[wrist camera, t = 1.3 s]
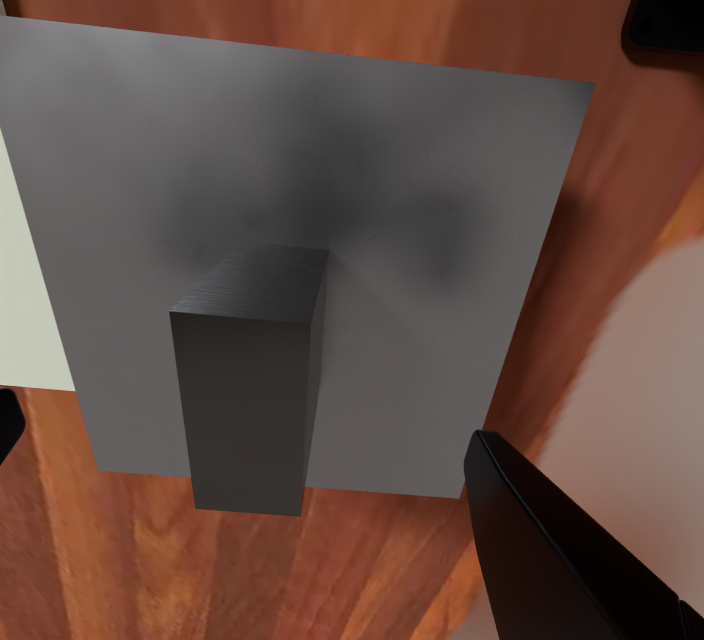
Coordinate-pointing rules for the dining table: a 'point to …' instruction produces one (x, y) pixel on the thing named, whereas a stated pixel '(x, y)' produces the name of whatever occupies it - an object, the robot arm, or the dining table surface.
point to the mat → (25, 298)
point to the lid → (280, 251)
